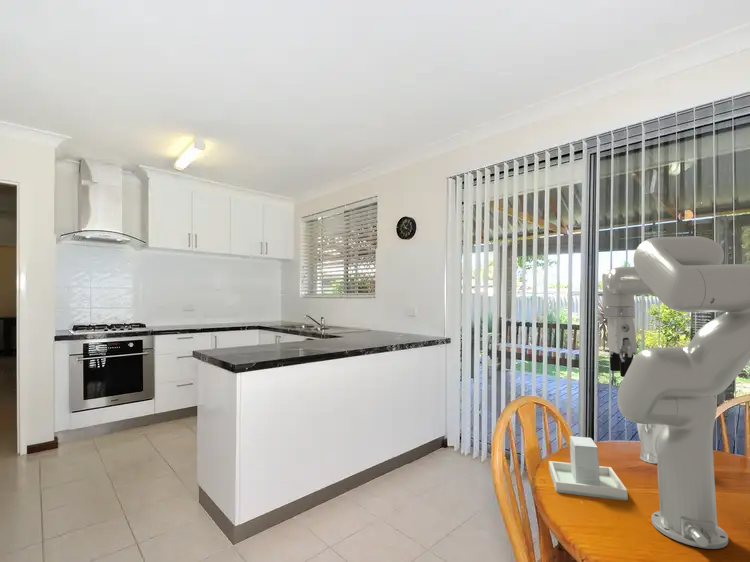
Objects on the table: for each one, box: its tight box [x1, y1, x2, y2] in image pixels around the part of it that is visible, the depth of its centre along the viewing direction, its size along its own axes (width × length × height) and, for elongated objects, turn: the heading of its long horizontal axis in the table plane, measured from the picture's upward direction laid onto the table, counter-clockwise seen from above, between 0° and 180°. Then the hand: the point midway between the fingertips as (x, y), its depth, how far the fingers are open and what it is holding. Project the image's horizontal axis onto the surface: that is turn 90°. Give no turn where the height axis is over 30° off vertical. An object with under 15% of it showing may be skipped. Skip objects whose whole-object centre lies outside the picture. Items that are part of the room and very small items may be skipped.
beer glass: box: [636, 423, 664, 465], centre depth 119 cm, size 7×7×15 cm
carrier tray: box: [548, 460, 629, 502], centre depth 104 cm, size 14×16×2 cm
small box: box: [569, 435, 600, 486], centre depth 104 cm, size 8×6×10 cm
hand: (621, 373), depth 110 cm, fingers open, 9 cm apart
